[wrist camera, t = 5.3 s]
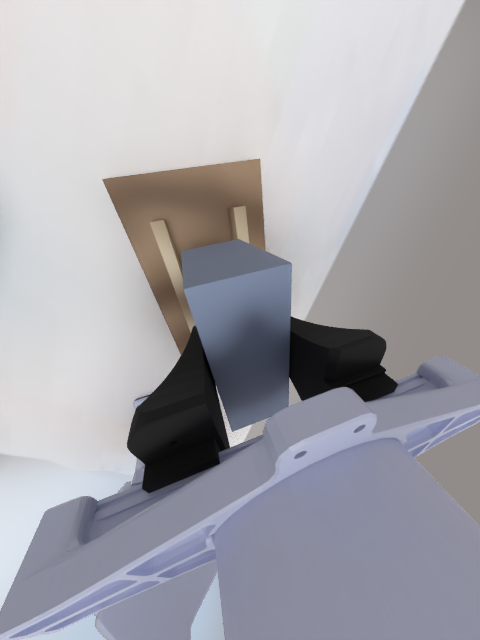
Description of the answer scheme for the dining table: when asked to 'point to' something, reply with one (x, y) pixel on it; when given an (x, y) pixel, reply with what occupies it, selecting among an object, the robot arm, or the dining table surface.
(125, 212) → the shelf board
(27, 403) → the dining table surface
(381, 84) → the dining table surface
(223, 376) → the slate blue book
